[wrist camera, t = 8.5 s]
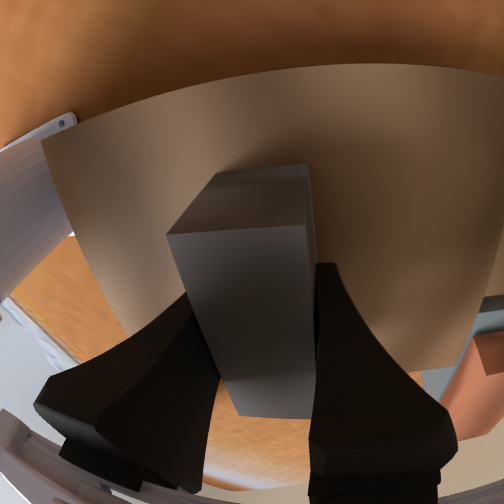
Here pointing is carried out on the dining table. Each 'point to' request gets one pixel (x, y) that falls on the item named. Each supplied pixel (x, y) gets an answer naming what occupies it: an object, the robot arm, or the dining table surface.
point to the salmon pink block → (477, 387)
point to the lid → (296, 213)
